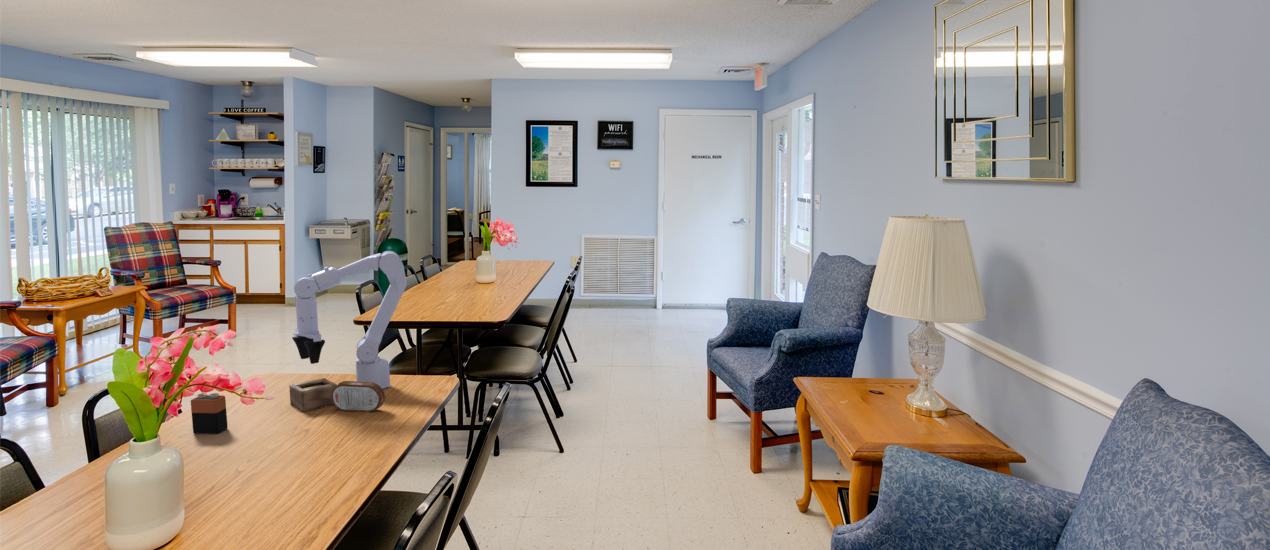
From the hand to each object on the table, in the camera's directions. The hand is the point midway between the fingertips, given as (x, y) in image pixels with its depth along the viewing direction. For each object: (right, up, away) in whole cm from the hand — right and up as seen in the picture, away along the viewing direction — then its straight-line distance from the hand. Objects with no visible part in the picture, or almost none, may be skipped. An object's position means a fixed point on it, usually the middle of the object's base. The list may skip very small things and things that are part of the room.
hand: (309, 360), depth 209 cm
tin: (+20, -13, -14) cm, 28 cm away
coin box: (+5, -12, -9) cm, 16 cm away
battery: (-11, -15, -30) cm, 36 cm away
